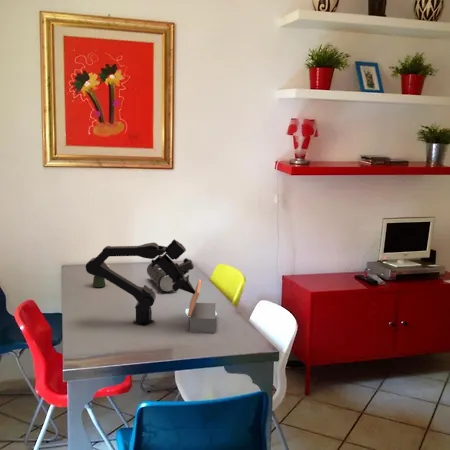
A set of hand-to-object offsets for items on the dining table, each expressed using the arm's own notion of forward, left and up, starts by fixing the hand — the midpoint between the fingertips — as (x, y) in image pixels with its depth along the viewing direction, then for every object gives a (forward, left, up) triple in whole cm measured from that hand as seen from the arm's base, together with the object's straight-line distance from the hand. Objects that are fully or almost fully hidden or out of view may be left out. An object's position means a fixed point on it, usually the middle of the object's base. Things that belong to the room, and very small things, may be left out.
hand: (194, 293), depth 222 cm
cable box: (+6, -1, -13) cm, 15 cm away
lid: (0, 0, -2) cm, 2 cm away
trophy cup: (+12, +72, -14) cm, 74 cm away
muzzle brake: (+33, +48, -14) cm, 59 cm away
